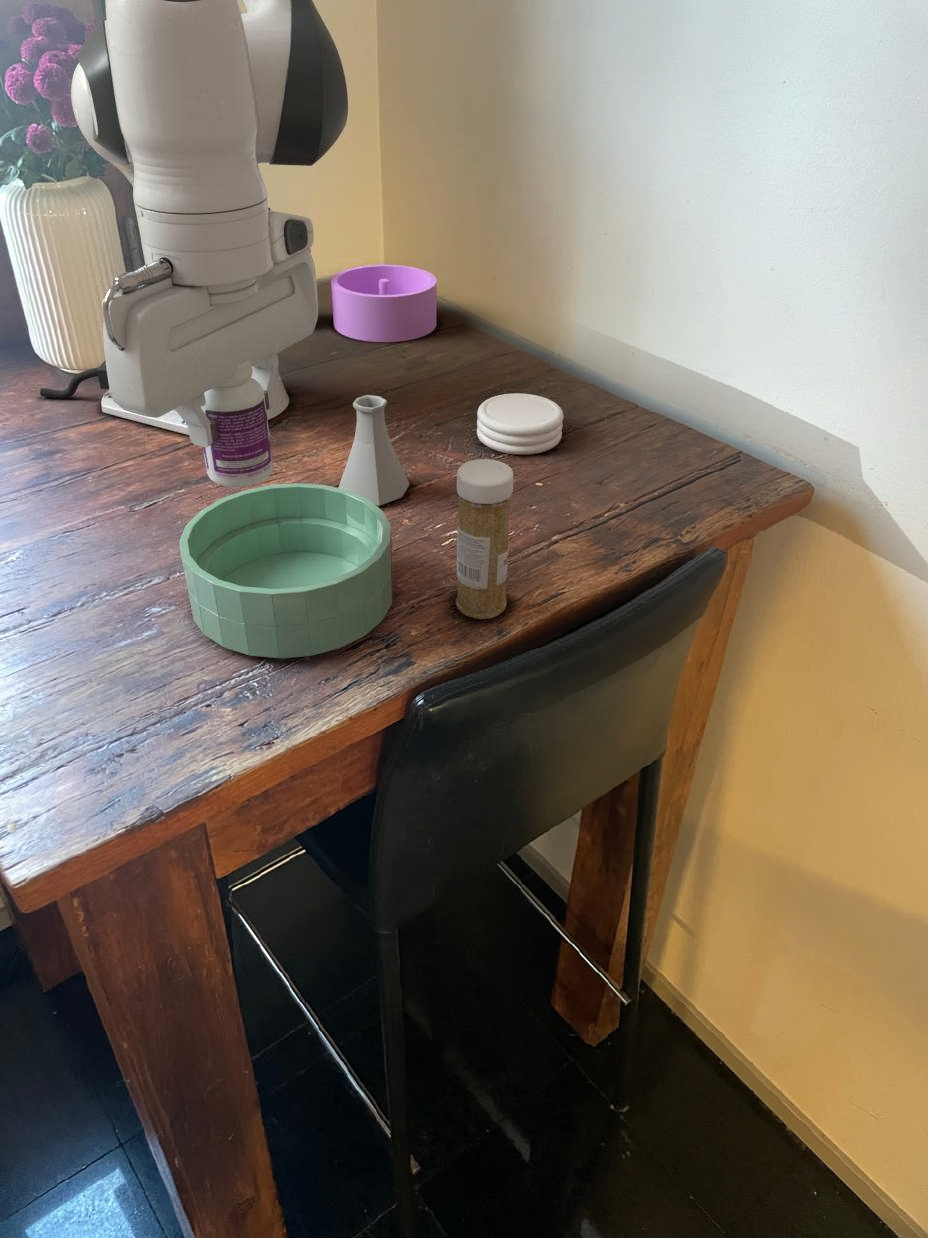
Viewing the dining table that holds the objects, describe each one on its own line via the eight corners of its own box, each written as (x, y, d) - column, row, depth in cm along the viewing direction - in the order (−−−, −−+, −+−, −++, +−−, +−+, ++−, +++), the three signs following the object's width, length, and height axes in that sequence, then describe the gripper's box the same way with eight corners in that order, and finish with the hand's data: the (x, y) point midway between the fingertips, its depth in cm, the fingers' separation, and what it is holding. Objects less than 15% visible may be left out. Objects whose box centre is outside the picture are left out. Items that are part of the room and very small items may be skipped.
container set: (436, 307, 146) (436, 217, 138) (436, 342, 134) (436, 246, 126) (275, 305, 145) (266, 215, 137) (260, 340, 133) (249, 244, 125)
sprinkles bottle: (516, 610, 82) (525, 474, 74) (473, 627, 80) (477, 488, 72) (487, 585, 85) (492, 451, 77) (444, 601, 83) (445, 465, 75)
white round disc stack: (488, 414, 115) (489, 386, 113) (568, 425, 113) (571, 397, 110) (466, 449, 107) (467, 420, 105) (552, 461, 105) (554, 433, 103)
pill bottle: (288, 470, 76) (275, 356, 71) (240, 495, 73) (222, 377, 67) (241, 452, 79) (225, 340, 73) (193, 476, 75) (172, 360, 70)
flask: (381, 514, 95) (377, 423, 89) (325, 494, 98) (318, 405, 92) (421, 485, 100) (420, 397, 94) (366, 467, 103) (362, 381, 97)
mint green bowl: (154, 642, 78) (138, 572, 73) (247, 535, 91) (238, 471, 87) (351, 681, 74) (346, 610, 70) (417, 564, 88) (417, 498, 84)
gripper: (137, 290, 57) (176, 492, 65) (326, 216, 71) (338, 388, 80) (60, 275, 59) (107, 471, 67) (259, 206, 74) (277, 374, 82)
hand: (234, 425), depth 74 cm, fingers closed on pill bottle, 5 cm apart
